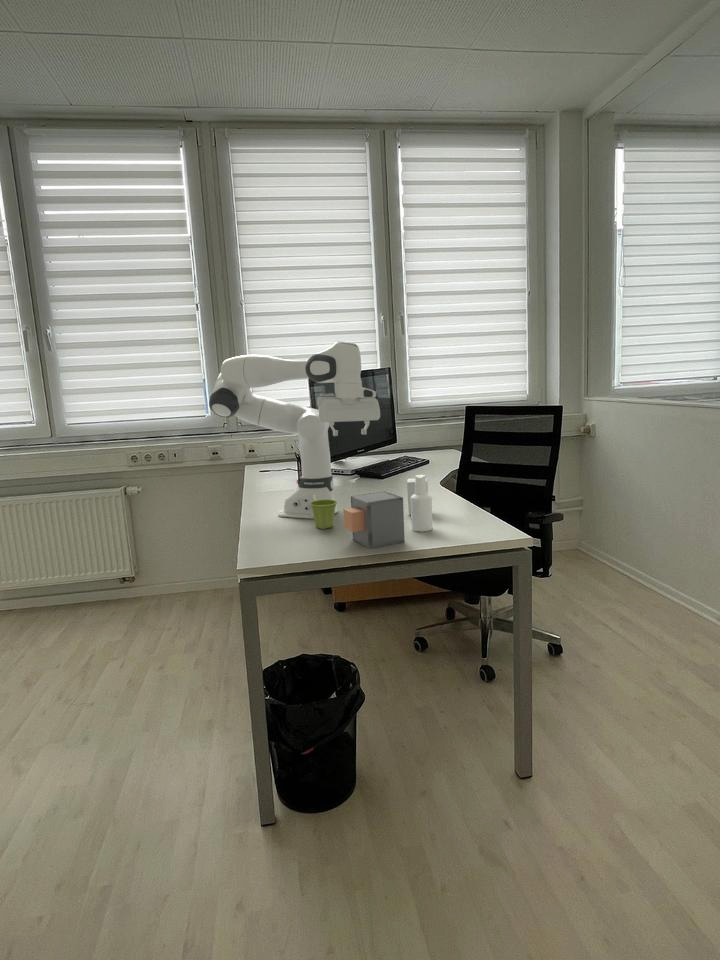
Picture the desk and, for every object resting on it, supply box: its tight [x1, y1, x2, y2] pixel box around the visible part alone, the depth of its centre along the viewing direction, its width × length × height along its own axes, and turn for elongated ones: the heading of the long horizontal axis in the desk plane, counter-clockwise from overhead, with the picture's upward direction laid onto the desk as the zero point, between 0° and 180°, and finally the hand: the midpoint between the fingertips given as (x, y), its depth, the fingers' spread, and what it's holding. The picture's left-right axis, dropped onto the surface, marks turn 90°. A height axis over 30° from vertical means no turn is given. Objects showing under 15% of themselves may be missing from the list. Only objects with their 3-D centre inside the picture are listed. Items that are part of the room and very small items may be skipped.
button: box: [343, 507, 365, 533], centre depth 181 cm, size 5×6×6 cm
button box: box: [350, 491, 406, 549], centre depth 184 cm, size 12×12×14 cm
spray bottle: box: [410, 474, 433, 533], centre depth 195 cm, size 7×7×18 cm
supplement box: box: [406, 477, 429, 516], centre depth 217 cm, size 7×7×13 cm
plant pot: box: [310, 499, 338, 530], centre depth 205 cm, size 9×9×9 cm
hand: (349, 435), depth 195 cm, fingers open, 8 cm apart
